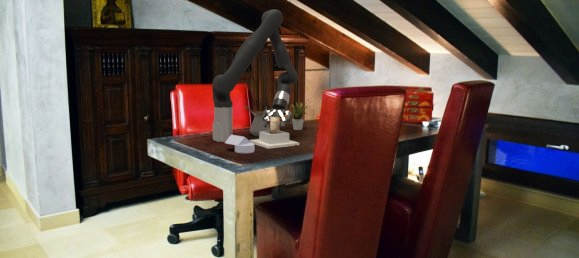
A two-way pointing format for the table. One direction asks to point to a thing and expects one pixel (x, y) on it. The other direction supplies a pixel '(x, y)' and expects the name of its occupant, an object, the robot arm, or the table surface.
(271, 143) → the socket plate
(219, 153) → the table surface
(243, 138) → the wedge on round base
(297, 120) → the house plant
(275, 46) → the robot arm
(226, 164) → the table surface
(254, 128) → the coffee pot
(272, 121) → the coupling plug
